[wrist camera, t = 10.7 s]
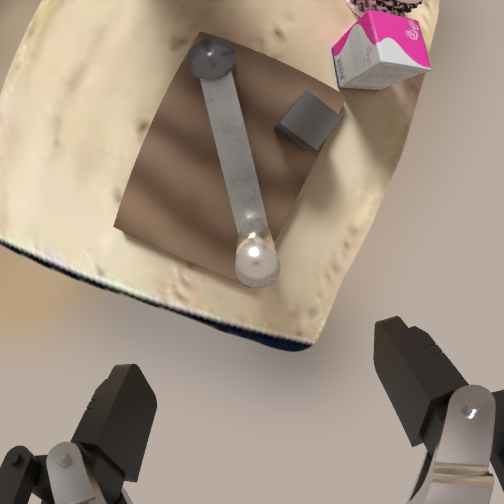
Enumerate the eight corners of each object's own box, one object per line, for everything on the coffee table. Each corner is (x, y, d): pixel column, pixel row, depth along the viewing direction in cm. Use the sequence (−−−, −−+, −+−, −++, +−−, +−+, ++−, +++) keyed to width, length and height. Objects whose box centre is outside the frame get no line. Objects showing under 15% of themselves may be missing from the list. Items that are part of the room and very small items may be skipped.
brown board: (202, 37, 26) (190, 8, 19) (341, 99, 29) (367, 85, 22) (119, 222, 33) (89, 241, 26) (249, 280, 36) (250, 313, 29)
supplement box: (381, 91, 29) (432, 72, 18) (337, 89, 29) (377, 63, 18) (374, 50, 27) (419, 19, 16) (330, 46, 27) (364, 7, 16)
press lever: (191, 58, 25) (164, 13, 14) (231, 48, 25) (223, -3, 14) (237, 245, 32) (233, 293, 21) (276, 236, 32) (291, 280, 21)
